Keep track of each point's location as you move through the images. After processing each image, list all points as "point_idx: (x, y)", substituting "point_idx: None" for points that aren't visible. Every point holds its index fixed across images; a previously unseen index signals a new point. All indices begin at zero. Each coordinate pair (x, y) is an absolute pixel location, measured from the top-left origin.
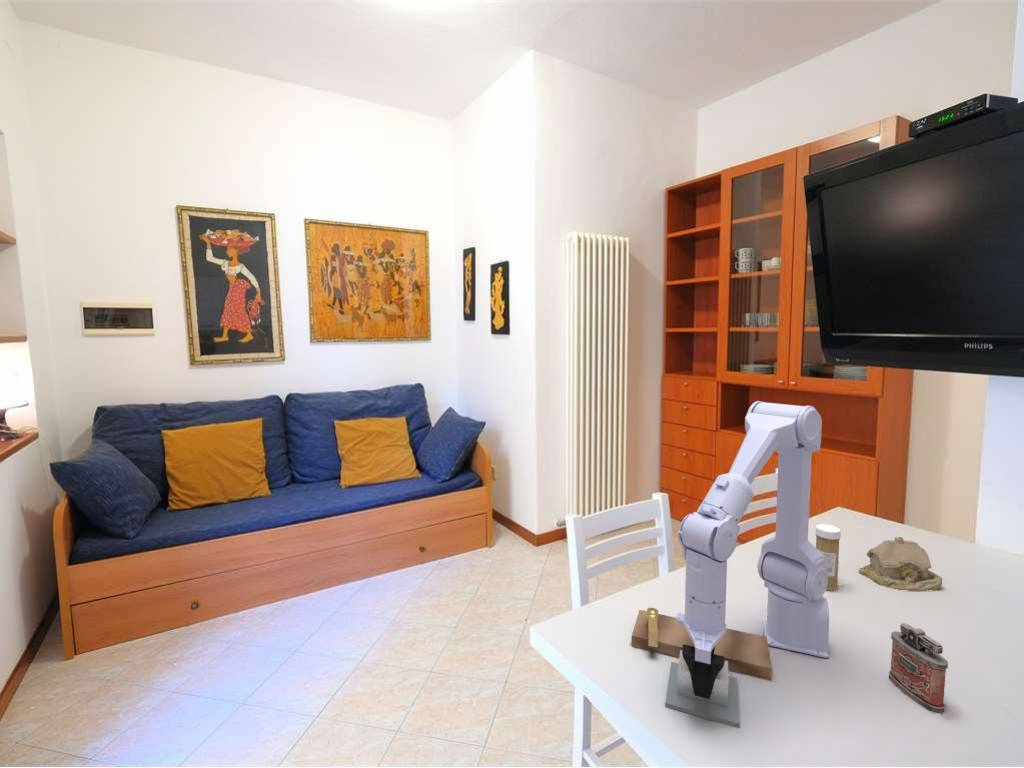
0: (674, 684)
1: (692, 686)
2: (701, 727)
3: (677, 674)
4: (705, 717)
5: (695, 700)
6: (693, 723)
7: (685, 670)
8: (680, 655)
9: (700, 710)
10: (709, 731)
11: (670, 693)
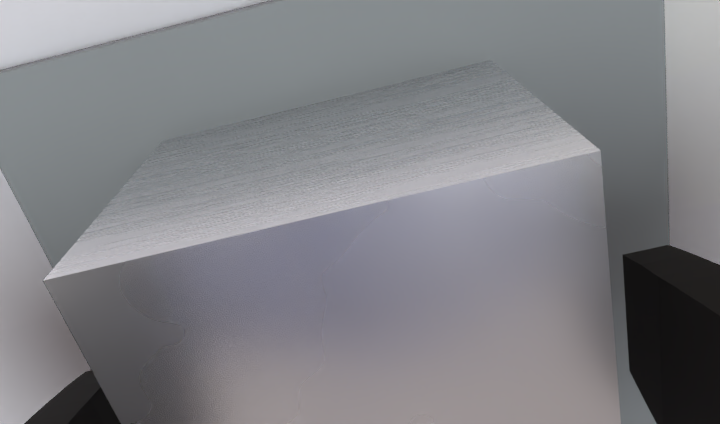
0: (279, 73)
1: (28, 421)
2: (17, 360)
3: (462, 45)
4: None
5: None
6: (5, 311)
7: (114, 367)
8: (431, 206)
9: None
10: (27, 405)
11: (120, 84)
